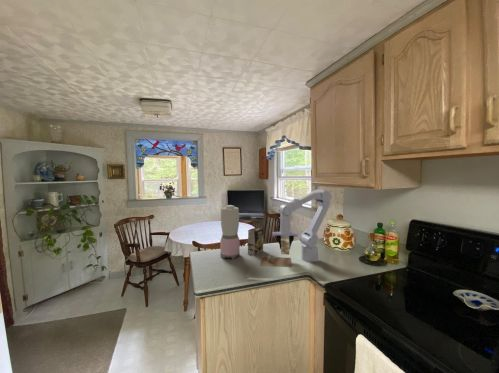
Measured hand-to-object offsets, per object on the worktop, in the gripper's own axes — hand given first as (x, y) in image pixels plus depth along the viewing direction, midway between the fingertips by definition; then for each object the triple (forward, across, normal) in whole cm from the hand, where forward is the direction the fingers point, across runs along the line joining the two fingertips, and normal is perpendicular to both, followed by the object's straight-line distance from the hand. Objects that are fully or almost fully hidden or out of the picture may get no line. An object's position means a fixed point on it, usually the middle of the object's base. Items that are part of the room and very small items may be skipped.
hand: (284, 248), depth 128 cm
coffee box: (+9, -18, +14) cm, 25 cm away
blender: (+9, -34, +10) cm, 37 cm away
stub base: (+9, -5, 0) cm, 10 cm away
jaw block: (+2, 0, 0) cm, 2 cm away
